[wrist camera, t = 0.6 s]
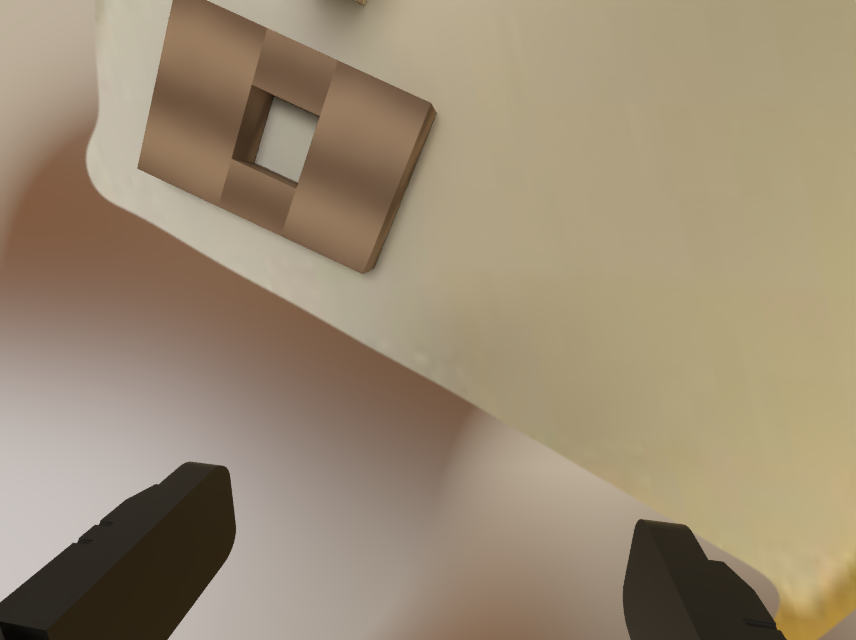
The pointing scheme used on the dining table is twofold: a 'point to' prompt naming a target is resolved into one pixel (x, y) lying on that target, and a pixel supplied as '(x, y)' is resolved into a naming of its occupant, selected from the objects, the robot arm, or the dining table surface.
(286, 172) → the dining table surface
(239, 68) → the walnut board
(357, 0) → the beech peg
